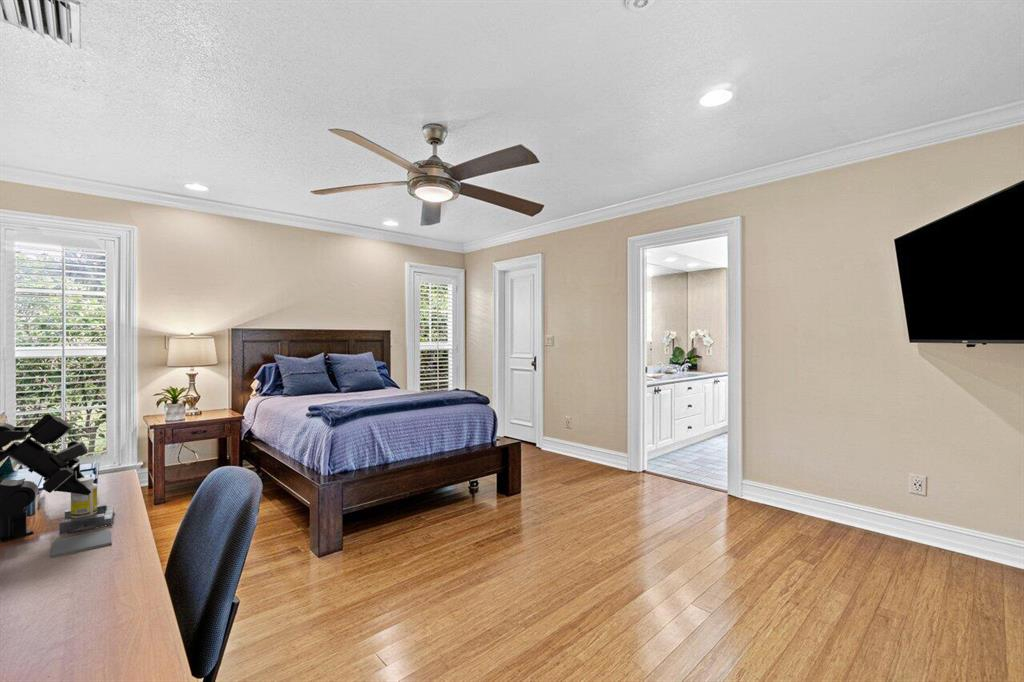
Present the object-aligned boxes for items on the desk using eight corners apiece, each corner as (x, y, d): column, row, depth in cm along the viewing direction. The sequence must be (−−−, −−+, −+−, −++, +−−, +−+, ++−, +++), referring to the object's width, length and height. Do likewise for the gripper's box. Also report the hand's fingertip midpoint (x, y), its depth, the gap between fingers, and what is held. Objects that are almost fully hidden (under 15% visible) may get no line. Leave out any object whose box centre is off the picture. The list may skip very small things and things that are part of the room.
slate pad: (53, 542, 122) (53, 540, 122) (109, 531, 129) (110, 529, 129) (51, 557, 114) (51, 555, 114) (111, 544, 121) (111, 542, 121)
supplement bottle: (89, 510, 138) (89, 475, 138) (101, 513, 137) (101, 477, 136) (66, 517, 133) (65, 480, 133) (78, 519, 131) (78, 482, 131)
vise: (110, 530, 130) (110, 519, 130) (56, 540, 124) (56, 528, 124) (113, 512, 144) (113, 502, 144) (65, 520, 137) (65, 509, 137)
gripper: (60, 439, 125) (115, 474, 132) (69, 428, 140) (118, 460, 147) (17, 475, 120) (76, 509, 127) (31, 459, 135) (83, 491, 142)
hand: (90, 490), depth 136 cm, fingers closed on supplement bottle, 5 cm apart
